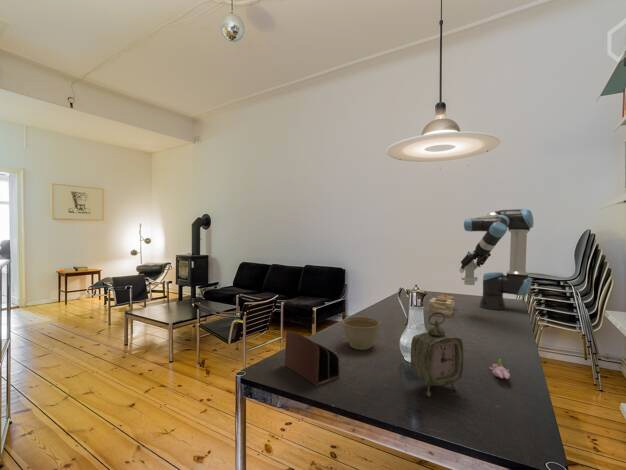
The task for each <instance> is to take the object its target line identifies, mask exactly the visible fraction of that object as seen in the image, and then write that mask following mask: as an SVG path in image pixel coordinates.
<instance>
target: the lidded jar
mask: <svg viewBox="0 0 626 470" xmlns="http://www.w3.org/2000/svg"><path fill="white" fill-rule="evenodd" d="M436 298H440V299H449V300H453V307H454V305H455V297H454V296H452V295H447V294H445V293H444V295H443V294H441V295H436Z"/></svg>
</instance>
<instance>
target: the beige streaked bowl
mask: <svg viewBox="0 0 626 470" xmlns="http://www.w3.org/2000/svg"><path fill="white" fill-rule="evenodd" d="M428 301H429V302H428V304H429V305H428V315H429V316H430V315H431V314H432V313H435V312H441V313H443V314H444V315H445V318H451V317H452V315H453V307H454V306H453V300H449V299H440V298H437V297H432V298H431V299H430V300H428ZM435 316H436V317H437V316H438V317H443V315H441V314H436V315H435Z"/></svg>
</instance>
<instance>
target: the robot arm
mask: <svg viewBox="0 0 626 470" xmlns="http://www.w3.org/2000/svg"><path fill="white" fill-rule="evenodd" d="M533 227H534V216H533V213H532V211H531V209H526V208H525V209H524V208H523V209H522V208H519V209H517V208H515V209H501V210H500V209H499V210H496V211H492V212H489V213H488V214H486V215H484V216H483V215H482V216H479V217H474V218H472V217H471V218H465V219H464V222H463V229H464V231H466V232H485V234H484V235H483V237H481V239H480V241H479V242H478V243H477V244H476V246H475V249H474V250H473V251H468V252H467V253H466V255H465V256H464V257H463V258H462V260H461V261H460V264H461V266H460V267H459V268H458V271H459V272H460V274H463V273H464V271H465V269H466V268H467V265H468V264H469V263H471V262H472V261H475V260H476V261H475V262H474V272H475V270H477V268H478V267H479V268H481V266H483V265H484V264H486V261H487V260H488V259H489V258H490V257H491V256H492V254H491V251H492V250H494V248H495V247H496V246H497V244H498V242H500V240H501V239H503V237H504V236H505V234H506V233H507V231H508V232H509V233H510V247H509V248H510V249H509V250H510V251H509V252H510V253H509V270H508V271H507V272H506V275H505V274H504V273H503V272H501V271H500V272H499V271H498V272H486V273H484V274H483V276H482V277H483V278H482V296H481V298H480V301H479V307H480V308H482V309H487V310H492V311H505V310H506V309H507V306H506V305H507V304H506V302H505V298H504V294H507V295H508V294H509V295H516V296H527V295H529V293H530V291H531V287H532V282H533V281H532V277H529V273H528V272H527V270H526V269H527V267H526V265H527V245H528V244H527V239H528V238H527V237H528V233H529V232H530V231H531V228H532V229H533Z"/></svg>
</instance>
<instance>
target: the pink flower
mask: <svg viewBox="0 0 626 470" xmlns="http://www.w3.org/2000/svg"><path fill="white" fill-rule="evenodd" d="M488 368H489V370H492V374H493V375H495V376H496V377H498V378H499V379H506V380H509V378H510V376H511V374H510V373H509V371H510V370H509V369H506V368H505V367H504V365H503V362H502V360H501V359H500V358H499V359H498V361H497V363H492V367H490V366H489V367H488Z"/></svg>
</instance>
